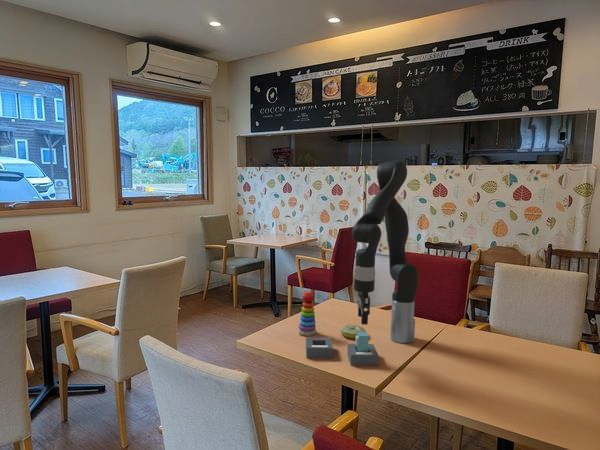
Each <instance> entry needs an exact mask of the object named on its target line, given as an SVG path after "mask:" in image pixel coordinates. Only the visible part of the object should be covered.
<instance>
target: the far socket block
mask: <svg viewBox="0 0 600 450" xmlns="http://www.w3.org/2000/svg"><path fill="white" fill-rule="evenodd" d="M305 354H306V356H305V357H306V359H333V358H334V346H333V342H332V338H331V337H305Z"/></svg>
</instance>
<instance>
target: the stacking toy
mask: <svg viewBox="0 0 600 450" xmlns="http://www.w3.org/2000/svg"><path fill="white" fill-rule="evenodd" d="M314 299H315V295H314V293H313V292H312V291H309V290H308V291H307V290H306V291H304V293H303V294H302V300H303V302H302V307H301V312H300V319H299V324H298V330H297V332H298V334H299V335H301V336H306V337H308V336H309V337H310V336H311V337H312V336H314V335H316V333H317V329H316V328H317V327H316V326H317V325H316V323H317V321H316V320H315V319H316V316H315V314H316V313H315V308H314V306H315V303H314V302H313V301H314Z"/></svg>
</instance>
